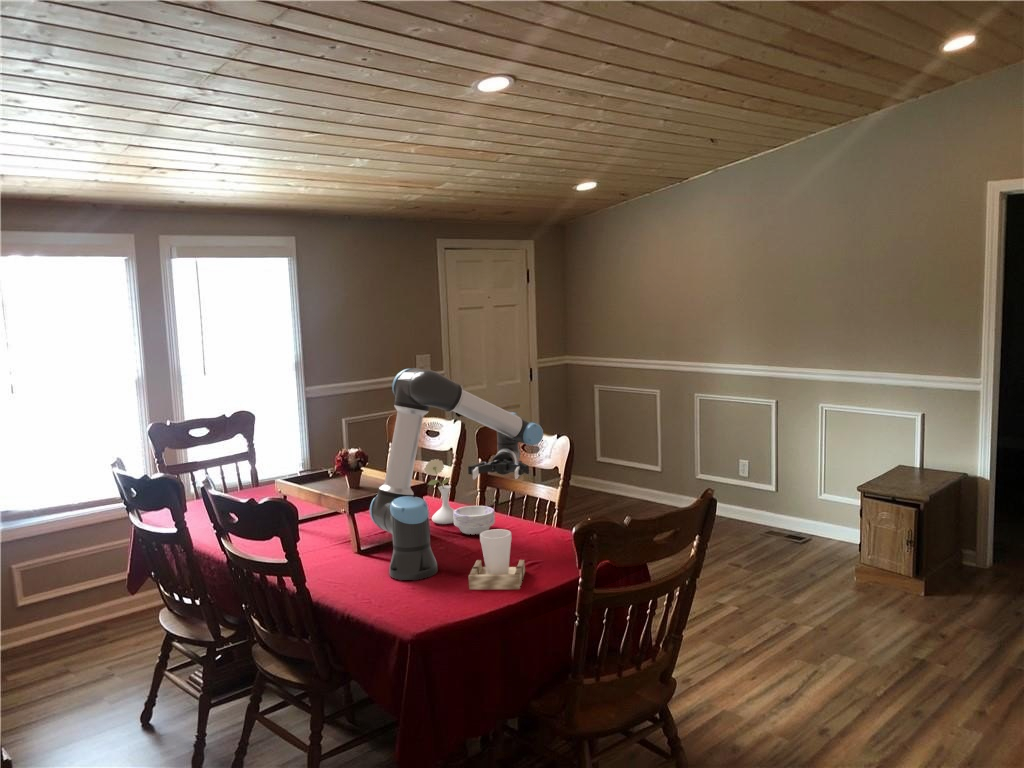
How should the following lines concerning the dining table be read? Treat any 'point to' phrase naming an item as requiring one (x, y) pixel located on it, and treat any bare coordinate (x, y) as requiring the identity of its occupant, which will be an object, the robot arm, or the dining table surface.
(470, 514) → the paper bowls
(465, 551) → the dining table surface
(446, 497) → the flower in vase
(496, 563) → the foam cup
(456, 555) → the dining table surface
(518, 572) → the cradle
